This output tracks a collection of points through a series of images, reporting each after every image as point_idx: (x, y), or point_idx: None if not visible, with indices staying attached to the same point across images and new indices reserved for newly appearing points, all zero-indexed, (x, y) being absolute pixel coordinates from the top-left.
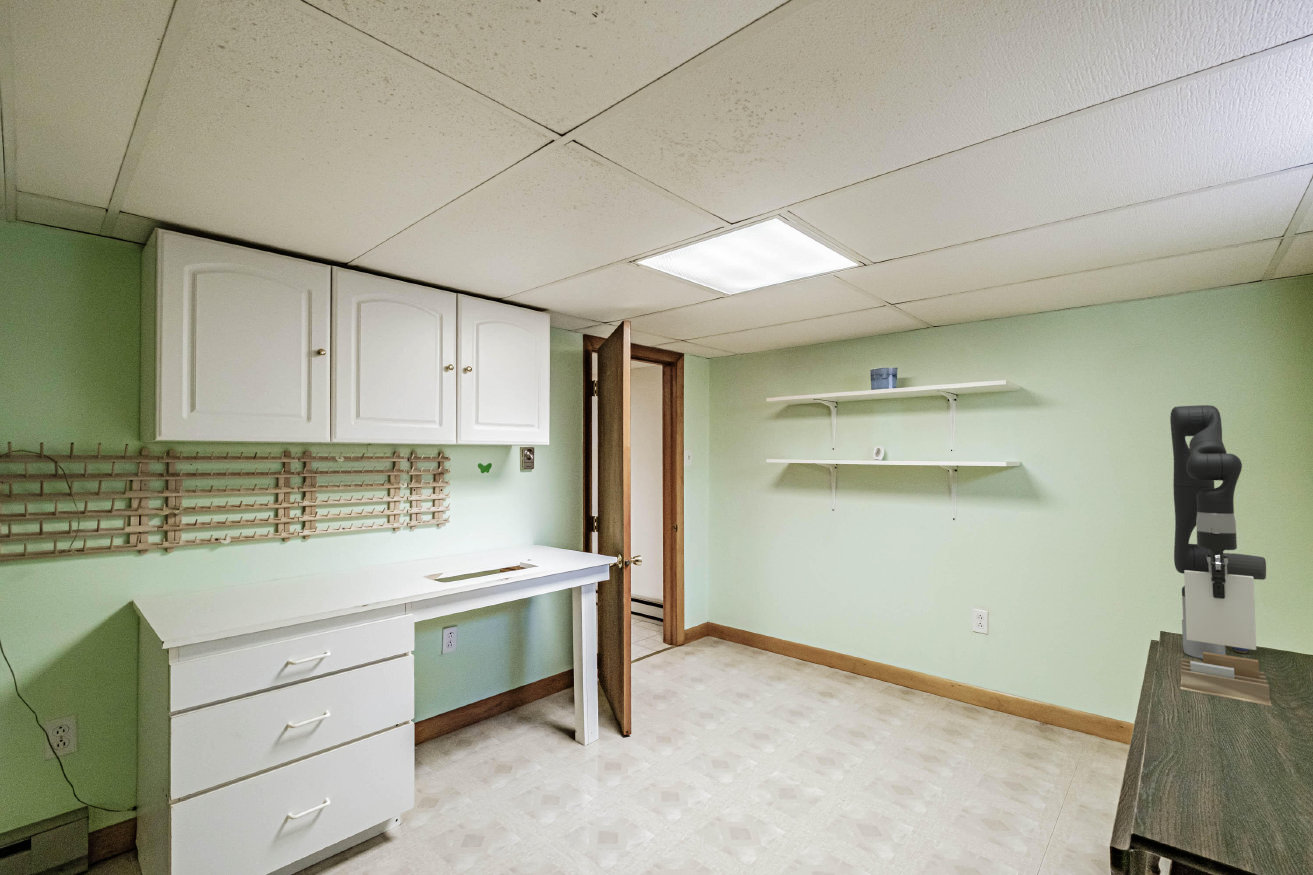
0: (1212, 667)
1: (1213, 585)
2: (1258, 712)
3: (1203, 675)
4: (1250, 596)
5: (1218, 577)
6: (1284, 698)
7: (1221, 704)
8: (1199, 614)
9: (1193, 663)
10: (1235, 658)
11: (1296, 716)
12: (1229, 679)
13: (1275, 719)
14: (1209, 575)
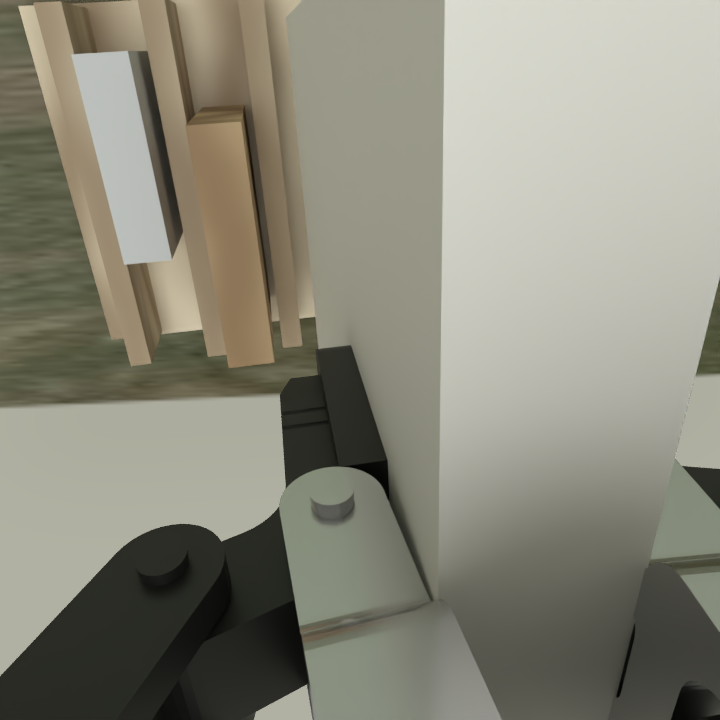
0: (101, 170)
1: (335, 450)
2: (47, 297)
3: (65, 121)
4: None
5: (179, 697)
6: None
7: (22, 180)
8: (312, 138)
9: (77, 72)
10: (216, 280)
11: (125, 388)
12: (95, 233)
13: (10, 344)
14: (424, 533)
